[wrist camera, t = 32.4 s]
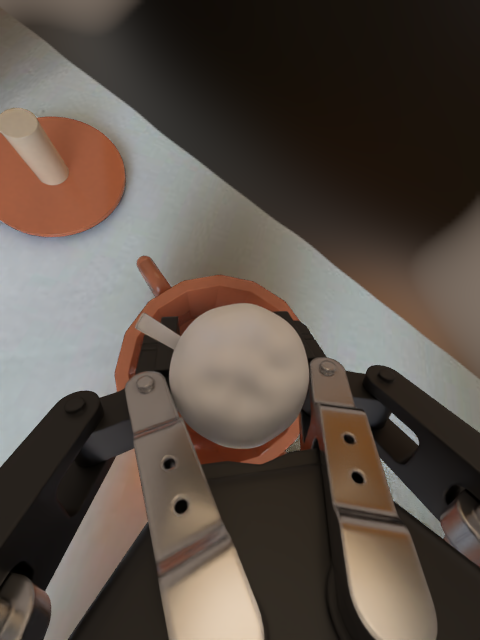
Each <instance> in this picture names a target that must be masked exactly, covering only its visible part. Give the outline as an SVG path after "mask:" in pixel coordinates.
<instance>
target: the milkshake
mask: <svg viewBox="0 0 480 640" xmlns="http://www.w3.org/2000/svg"><path fill="white" fill-rule="evenodd" d="M135 328H136V329H137V330H139V331H140V332H142V333H144V334H146V335H148V336H150V337H151V338H153V339H155V340H157V341H159V342H161V343H162V344H164V345H166V346H168V347H170V348H172V349H173V350H174V352H173V355H172V359H171V363H170V369H169V383H170V389H171V393H172V397H173V400H174V402H175V405H176V407H177V409H178V411H179V413H180V414H181V416H182V417H183V419H184V420H185V422H186V423H187V424H188V425H189V426H190V427H191V428H192V429H193V430H194V431H195V432H197V433H198V434H200V435H201V436H203V437H204V438H206V439H208V440H210V441H212V442H214V443H216V444H218V445H221V446H224V447H229V448H236V449H248V448H255V447H258V446H261V445H263V444H265V443H267V442H269V441H270V440H272V439H273V438H275V437H276V436H278V435H279V434H281V433H282V432H283V431H285V430H286V429H287V428H288V427H289V426H290V425H291V424H292V423H293V422H294V421H295V420H296V418H297V417H298V415H299V413H300V411H301V409H302V406H303V404H304V401H305V398H306V395H307V391H308V385H309V366H308V360H307V356H306V352H305V349H304V346H303V343H302V341H301V339H300V337H299V335H298V334H297V332H296V331H295V329H294V328H293V327H292V326H291V325H290V324H289V323H288V322H287V321H286V320H284V319H283V318H281V317H280V316H278V315H276V314H275V313H273V312H271V311H269V310H267V309H265V308H263V307H260V306H257V305H254V304H249V303H238V304H232V305H226V306H221V307H217V308H214V309H211V310H209V311H207V312H205V313H203V314H202V315H200V316H199V317H197V318H196V319H195V320H194V321H193V322H192V323H191V324H190V325H189V326H188V327H187V329H186V330H185V331H184V333H183V334H182V336H179V335H178V334H176V333H175V332H173V331H172V330H170V329H169V328H167V327H166V326H164V325H163V324H161V323H160V322H158V321H157V320H155V319H154V318H152V317H151V316H149V315H148V314H146V313H142V314H141V316H140V318H139V320H138V321H137V323H136V325H135Z"/></svg>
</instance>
